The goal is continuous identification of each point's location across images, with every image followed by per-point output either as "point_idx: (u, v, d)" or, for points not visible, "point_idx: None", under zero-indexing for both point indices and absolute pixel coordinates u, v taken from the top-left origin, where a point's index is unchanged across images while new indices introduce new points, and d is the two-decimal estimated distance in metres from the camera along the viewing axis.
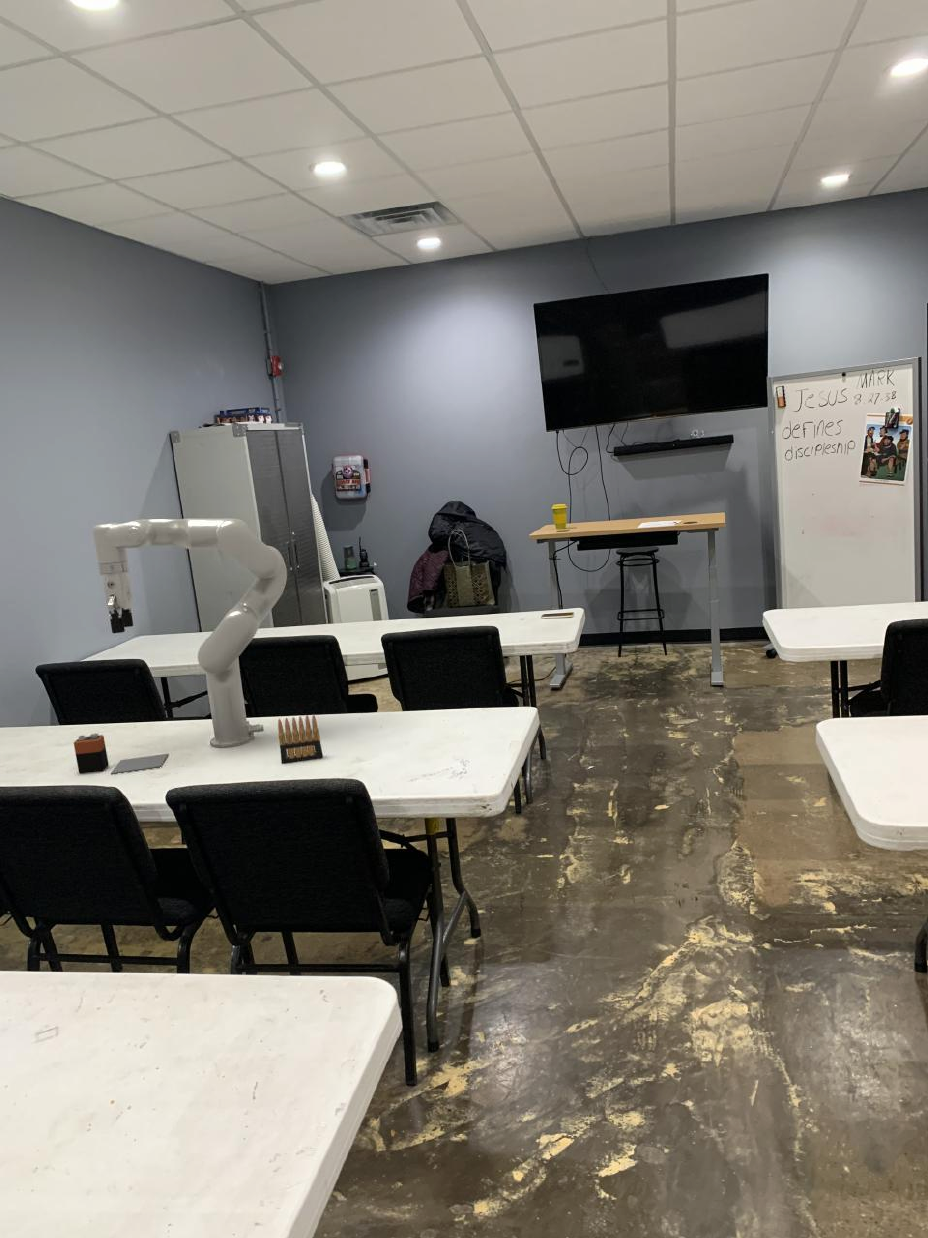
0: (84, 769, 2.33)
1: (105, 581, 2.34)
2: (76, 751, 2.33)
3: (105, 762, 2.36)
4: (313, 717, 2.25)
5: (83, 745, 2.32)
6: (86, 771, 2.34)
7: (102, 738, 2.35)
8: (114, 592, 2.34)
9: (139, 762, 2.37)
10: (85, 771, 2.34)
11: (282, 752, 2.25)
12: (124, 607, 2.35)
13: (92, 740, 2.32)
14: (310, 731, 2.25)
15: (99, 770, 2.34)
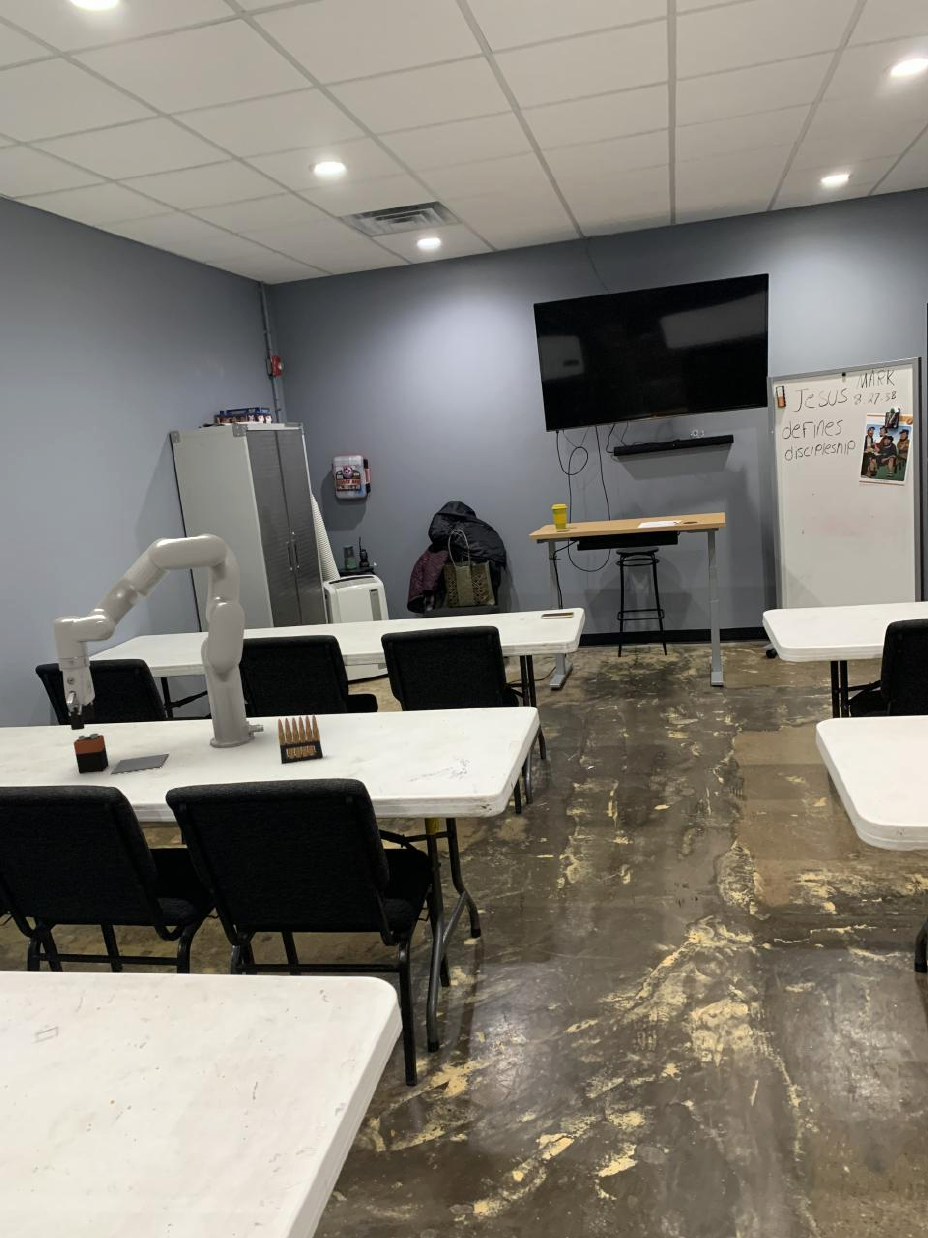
0: (84, 769, 2.33)
1: (64, 677, 2.27)
2: (76, 751, 2.33)
3: (105, 762, 2.36)
4: (313, 717, 2.25)
5: (83, 745, 2.32)
6: (86, 771, 2.34)
7: (102, 738, 2.35)
8: (74, 688, 2.27)
9: (139, 762, 2.37)
10: (85, 771, 2.34)
11: (282, 752, 2.25)
12: (84, 703, 2.28)
13: (92, 740, 2.32)
14: (310, 731, 2.25)
15: (99, 770, 2.34)
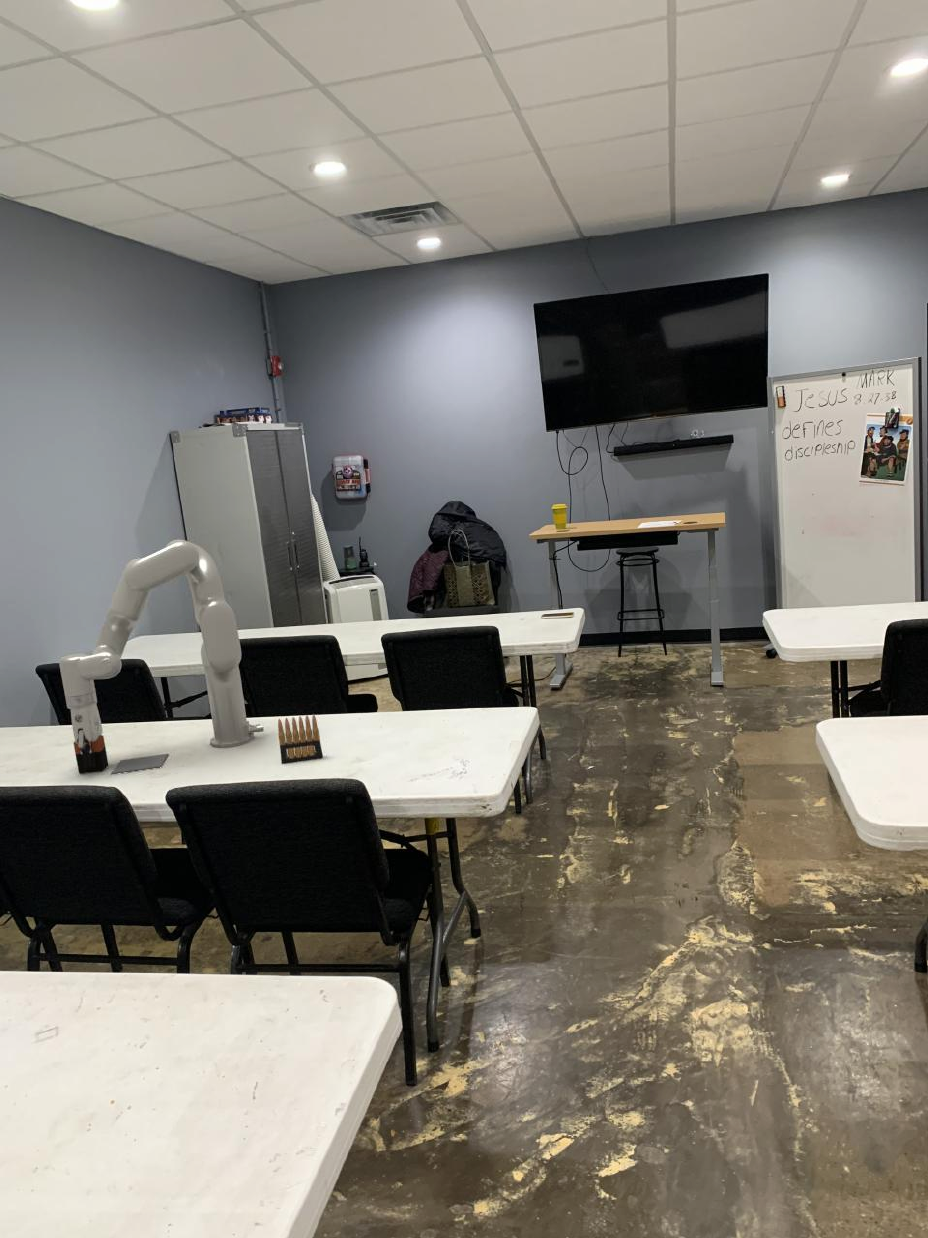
0: (84, 769, 2.33)
1: (72, 715, 2.28)
2: (76, 751, 2.33)
3: (105, 762, 2.36)
4: (313, 717, 2.25)
5: None
6: (86, 771, 2.34)
7: (102, 738, 2.35)
8: (82, 726, 2.29)
9: (139, 762, 2.37)
10: (85, 771, 2.34)
11: (282, 752, 2.25)
12: (92, 740, 2.30)
13: None
14: (310, 731, 2.25)
15: (99, 770, 2.34)
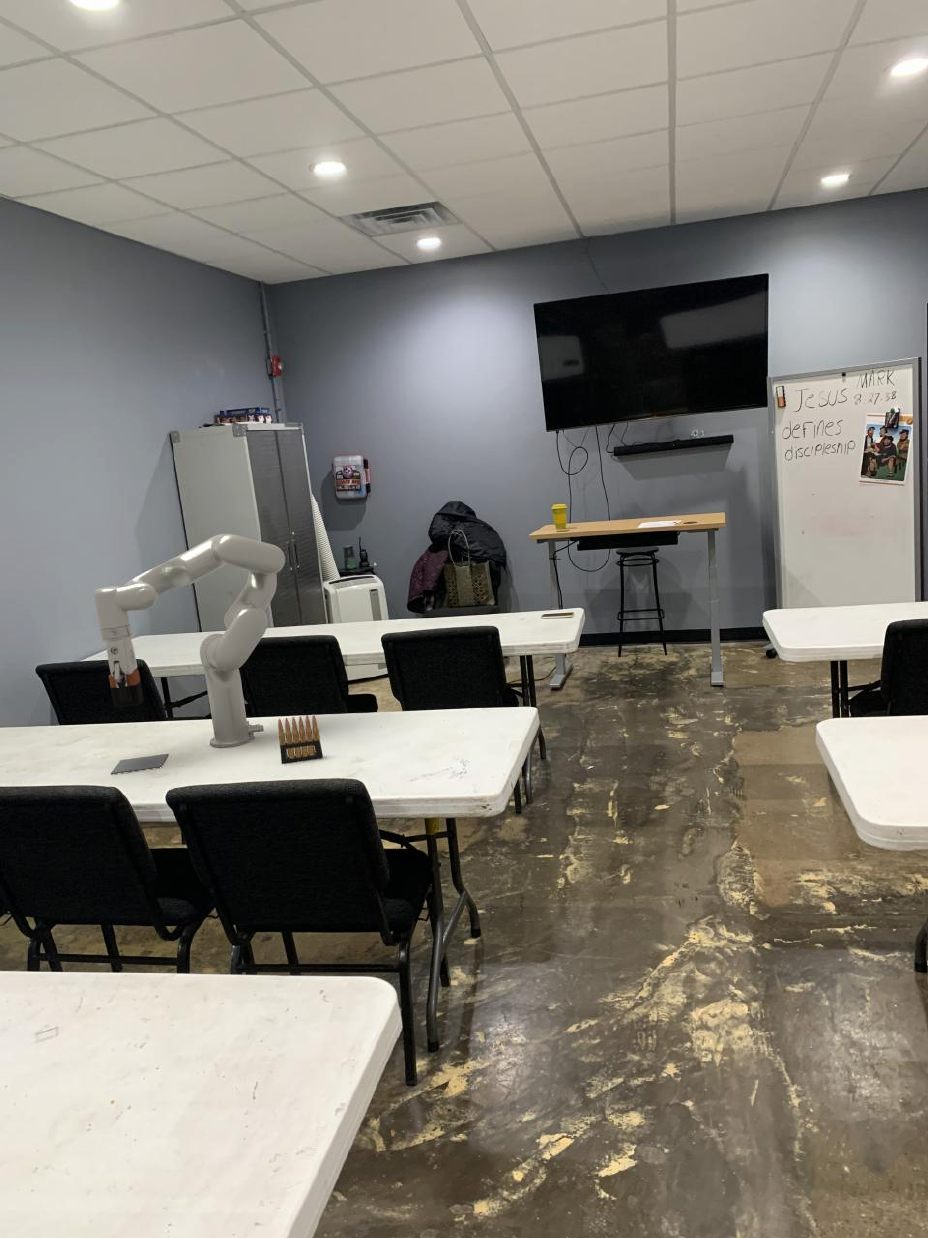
0: (119, 703, 2.31)
1: (108, 647, 2.26)
2: (111, 684, 2.30)
3: (140, 696, 2.33)
4: (313, 717, 2.25)
5: None
6: (121, 705, 2.31)
7: (137, 672, 2.33)
8: (118, 658, 2.26)
9: (139, 762, 2.37)
10: (120, 705, 2.31)
11: (282, 752, 2.25)
12: (128, 673, 2.28)
13: None
14: (310, 731, 2.25)
15: (135, 704, 2.32)
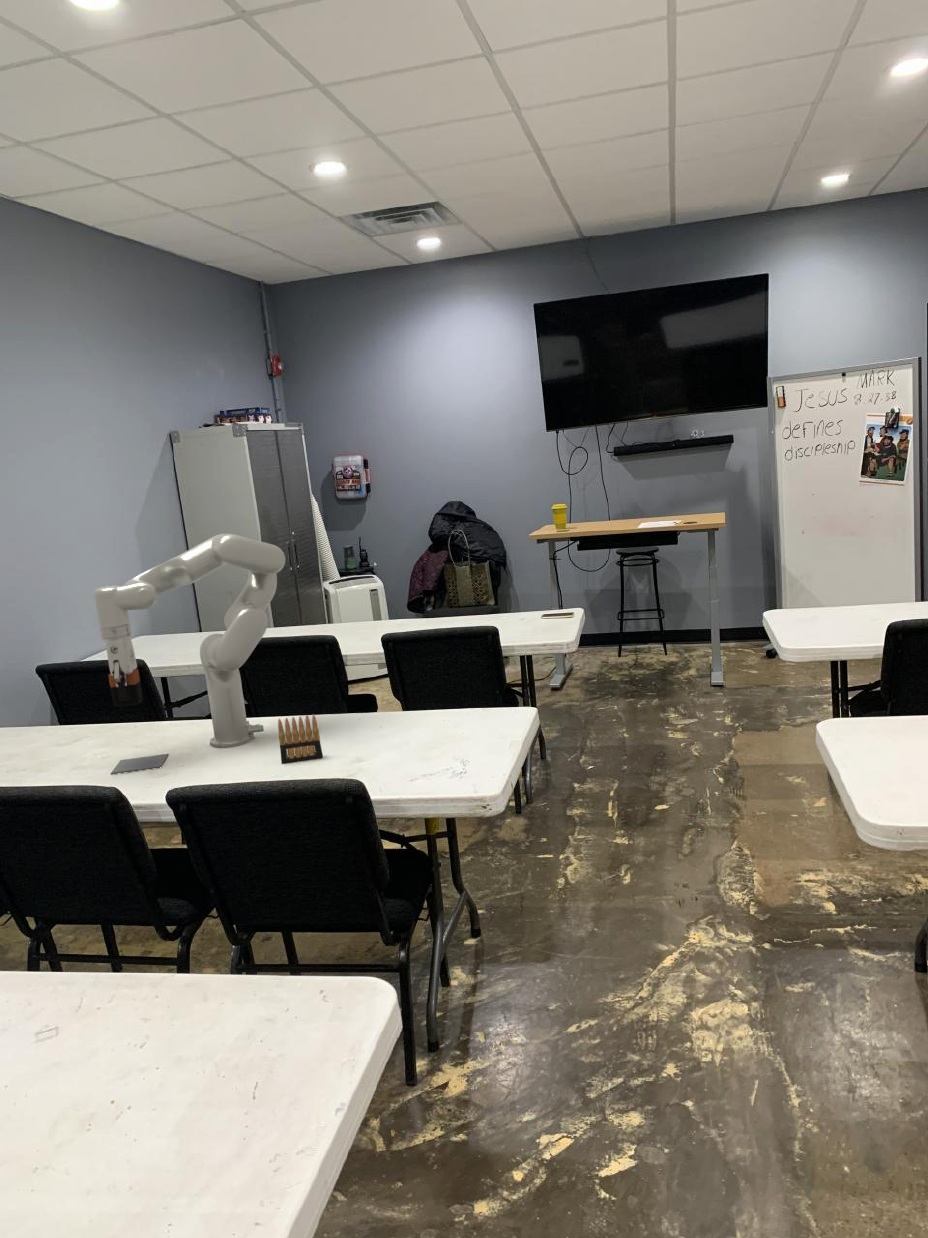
0: (119, 703, 2.31)
1: (108, 646, 2.26)
2: (111, 684, 2.30)
3: (140, 696, 2.33)
4: (313, 717, 2.25)
5: None
6: (121, 704, 2.31)
7: (137, 671, 2.33)
8: (117, 657, 2.26)
9: (139, 762, 2.37)
10: (120, 704, 2.31)
11: (282, 752, 2.25)
12: (128, 672, 2.28)
13: None
14: (310, 731, 2.25)
15: (134, 703, 2.32)
